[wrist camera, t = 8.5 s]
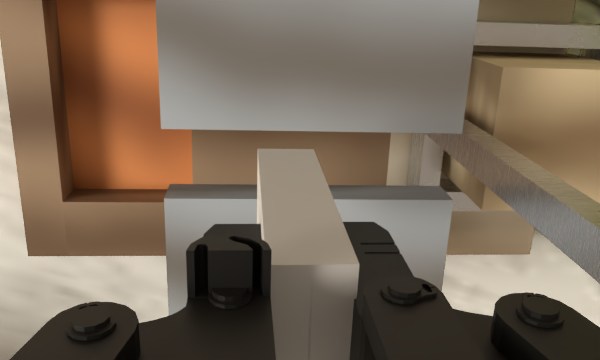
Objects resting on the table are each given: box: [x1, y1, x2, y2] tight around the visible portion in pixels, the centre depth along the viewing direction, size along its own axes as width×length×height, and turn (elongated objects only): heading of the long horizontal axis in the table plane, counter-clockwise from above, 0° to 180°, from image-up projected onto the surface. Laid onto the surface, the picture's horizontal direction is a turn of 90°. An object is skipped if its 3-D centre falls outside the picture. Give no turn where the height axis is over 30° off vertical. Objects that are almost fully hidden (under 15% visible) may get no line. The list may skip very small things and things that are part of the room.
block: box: [441, 51, 600, 211], centre depth 26 cm, size 6×6×6 cm
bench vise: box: [0, 0, 576, 315], centre depth 25 cm, size 16×27×12 cm, turn 88°
